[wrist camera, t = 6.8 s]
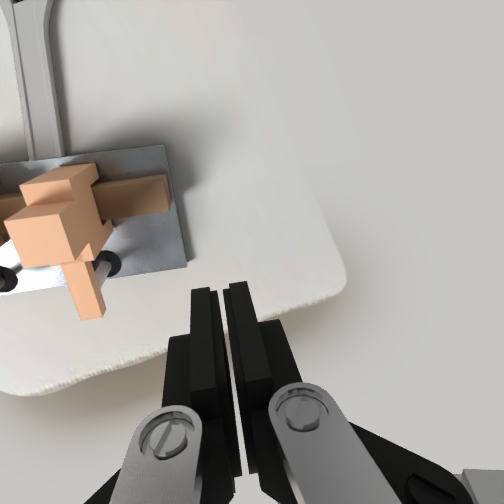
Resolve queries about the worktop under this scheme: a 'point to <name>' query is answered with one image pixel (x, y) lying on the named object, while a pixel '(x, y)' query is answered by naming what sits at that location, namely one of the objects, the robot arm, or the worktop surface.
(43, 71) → the adjustable wrench
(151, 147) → the flange plate
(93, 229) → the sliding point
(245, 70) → the worktop surface
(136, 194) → the trammel bar
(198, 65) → the worktop surface
